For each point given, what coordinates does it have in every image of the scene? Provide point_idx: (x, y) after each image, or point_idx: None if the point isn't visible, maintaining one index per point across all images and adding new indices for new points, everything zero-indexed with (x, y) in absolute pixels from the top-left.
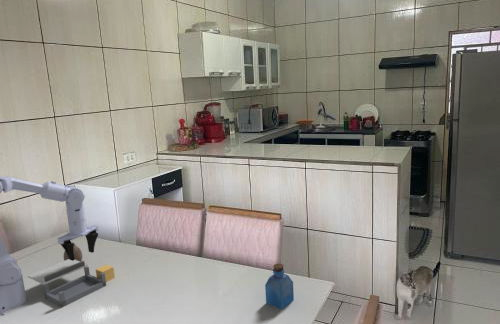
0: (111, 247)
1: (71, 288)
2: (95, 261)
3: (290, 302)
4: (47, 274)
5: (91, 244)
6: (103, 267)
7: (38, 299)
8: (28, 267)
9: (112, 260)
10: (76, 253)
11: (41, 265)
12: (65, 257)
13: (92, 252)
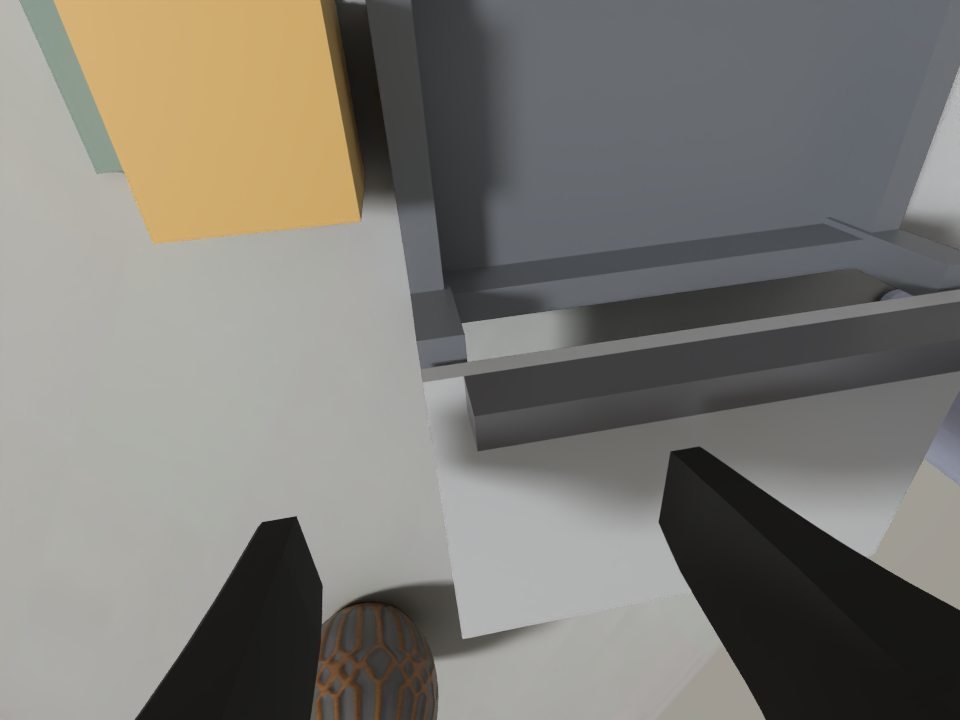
0: (4, 713)
1: (633, 227)
2: (211, 581)
3: None
4: (818, 463)
5: (247, 718)
6: (232, 171)
7: (829, 303)
8: (566, 711)
9: (52, 513)
10: (351, 705)
11: (513, 701)
12: (435, 695)
13: (289, 520)
